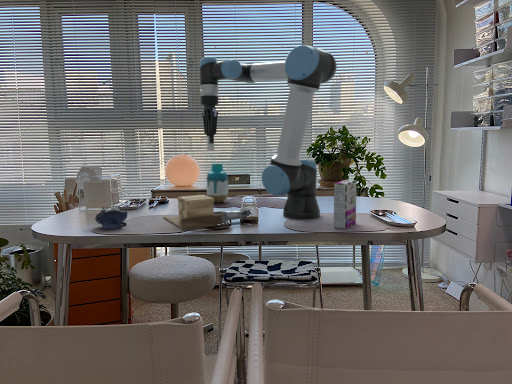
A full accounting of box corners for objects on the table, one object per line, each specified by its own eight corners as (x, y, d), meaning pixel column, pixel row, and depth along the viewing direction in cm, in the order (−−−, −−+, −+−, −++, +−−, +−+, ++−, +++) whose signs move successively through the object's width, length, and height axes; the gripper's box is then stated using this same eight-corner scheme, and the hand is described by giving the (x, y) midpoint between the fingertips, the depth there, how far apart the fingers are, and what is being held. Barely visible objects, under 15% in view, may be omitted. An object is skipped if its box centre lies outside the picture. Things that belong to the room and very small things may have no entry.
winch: (223, 226, 148) (223, 212, 147) (216, 223, 153) (216, 210, 152) (257, 221, 155) (257, 209, 154) (250, 219, 160) (250, 206, 159)
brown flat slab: (163, 219, 160) (163, 208, 159) (198, 215, 167) (198, 205, 166) (182, 231, 140) (181, 219, 139) (221, 226, 147) (221, 214, 146)
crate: (178, 222, 151) (177, 196, 149) (204, 219, 156) (203, 194, 154) (187, 228, 142) (186, 200, 140) (214, 225, 147) (214, 198, 145)
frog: (102, 224, 152) (100, 204, 151) (132, 224, 152) (131, 204, 151) (90, 230, 143) (88, 209, 142) (123, 230, 142) (121, 209, 141)
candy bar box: (343, 222, 153) (344, 179, 151) (356, 223, 151) (357, 180, 148) (332, 227, 144) (333, 182, 142) (345, 229, 141) (347, 183, 139)
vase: (232, 201, 201) (231, 163, 199) (221, 204, 192) (221, 165, 189) (214, 200, 206) (213, 162, 203) (203, 203, 196) (202, 164, 193)
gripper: (195, 96, 175) (197, 150, 178) (207, 93, 164) (208, 151, 167) (211, 97, 179) (212, 150, 182) (223, 94, 167) (224, 151, 171)
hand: (210, 150), depth 175 cm, fingers closed
